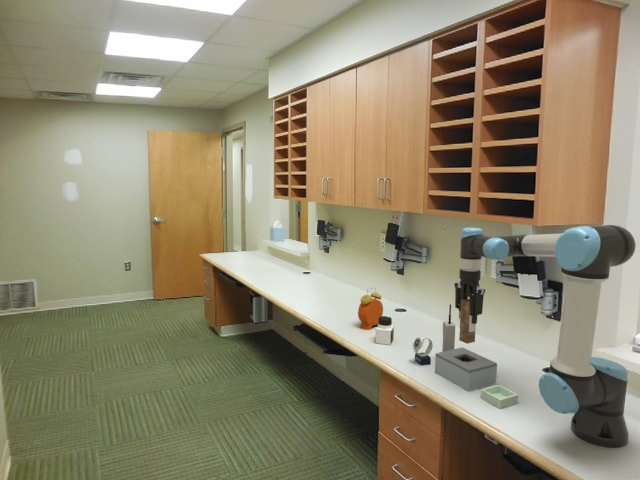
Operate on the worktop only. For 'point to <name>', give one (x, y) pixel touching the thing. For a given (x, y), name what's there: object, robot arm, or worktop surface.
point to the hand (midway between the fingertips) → (467, 329)
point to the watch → (422, 357)
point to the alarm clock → (370, 310)
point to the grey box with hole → (466, 368)
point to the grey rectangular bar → (448, 334)
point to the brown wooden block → (465, 323)
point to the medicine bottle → (385, 331)
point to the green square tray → (499, 396)
